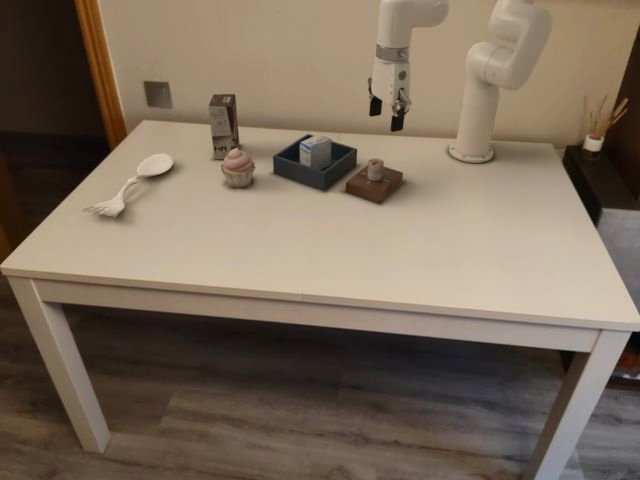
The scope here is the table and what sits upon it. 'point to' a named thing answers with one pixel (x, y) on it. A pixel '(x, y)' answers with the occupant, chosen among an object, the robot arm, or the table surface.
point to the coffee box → (223, 124)
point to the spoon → (145, 169)
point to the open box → (291, 168)
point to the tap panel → (374, 184)
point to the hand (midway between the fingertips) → (385, 122)
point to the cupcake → (238, 168)
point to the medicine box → (316, 152)
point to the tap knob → (375, 169)
